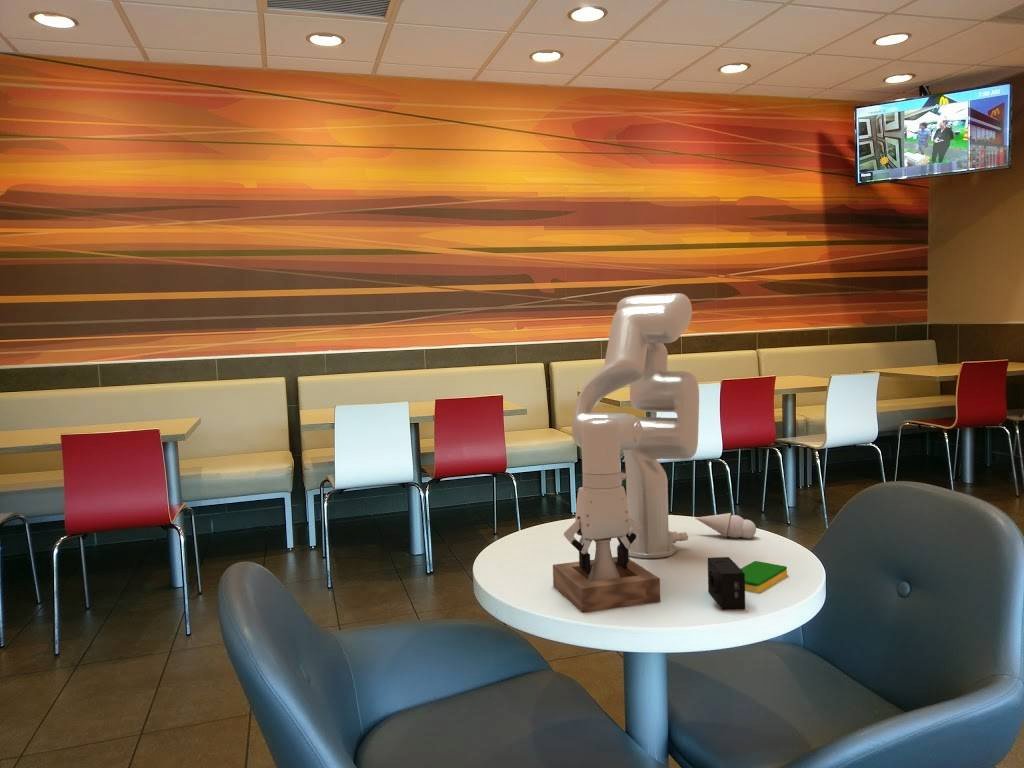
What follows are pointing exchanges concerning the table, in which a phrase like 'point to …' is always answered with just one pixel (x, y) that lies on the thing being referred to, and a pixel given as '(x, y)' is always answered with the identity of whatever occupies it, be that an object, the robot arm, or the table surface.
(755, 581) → the dish sponge
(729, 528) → the ice cream cone
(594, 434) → the robot arm
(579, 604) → the condiment dock
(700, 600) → the table surface
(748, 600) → the table surface
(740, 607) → the digital camera
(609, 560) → the flask
